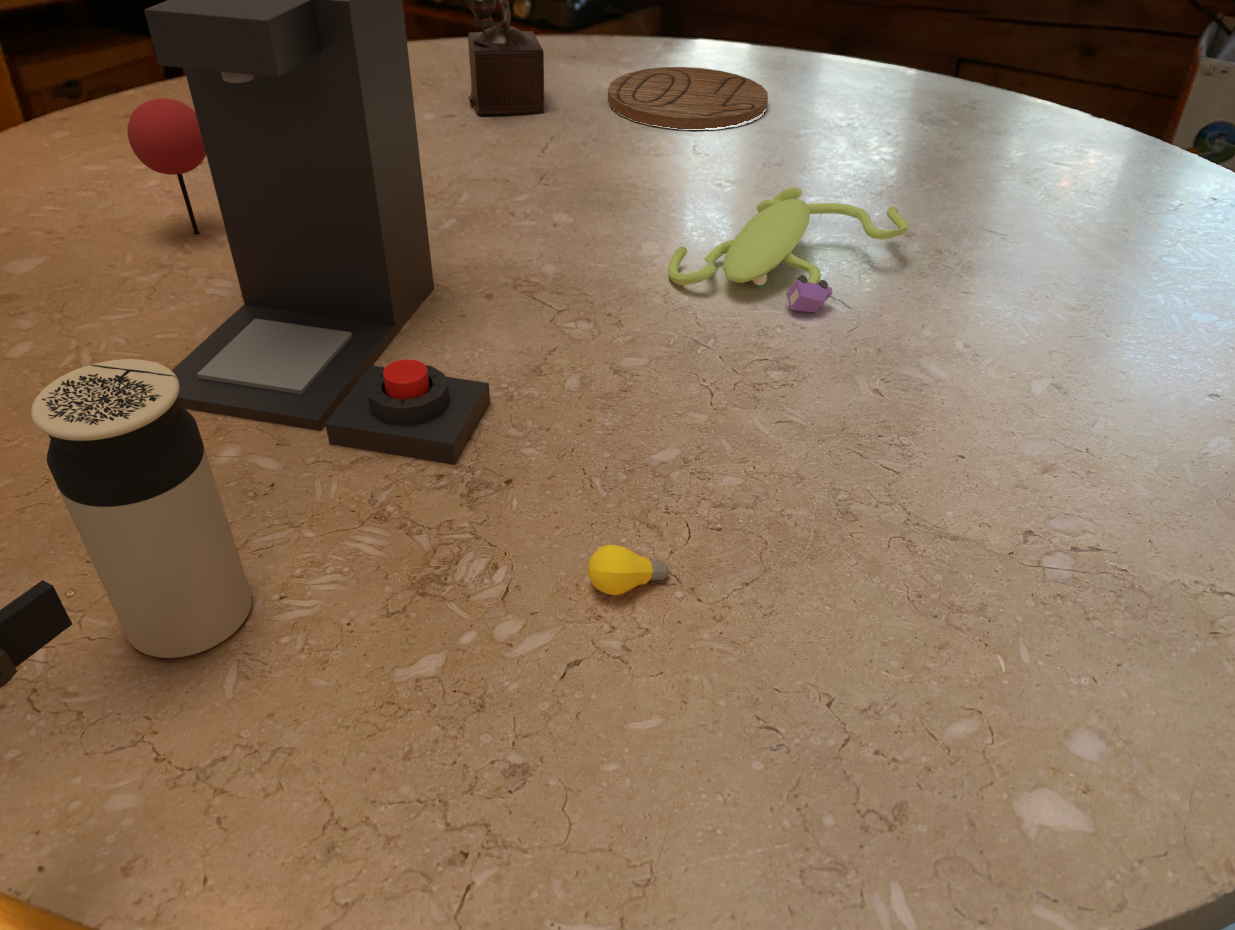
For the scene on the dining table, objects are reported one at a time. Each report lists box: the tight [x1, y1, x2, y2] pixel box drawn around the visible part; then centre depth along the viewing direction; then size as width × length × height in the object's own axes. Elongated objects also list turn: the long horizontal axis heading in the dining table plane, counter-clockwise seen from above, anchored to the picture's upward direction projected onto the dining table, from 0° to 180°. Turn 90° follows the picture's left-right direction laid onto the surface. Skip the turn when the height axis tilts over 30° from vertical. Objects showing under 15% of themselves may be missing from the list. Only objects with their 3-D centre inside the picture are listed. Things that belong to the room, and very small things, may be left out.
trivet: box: [607, 66, 769, 129], centre depth 147 cm, size 25×25×2 cm
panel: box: [325, 364, 491, 466], centre depth 79 cm, size 11×9×4 cm
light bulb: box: [587, 544, 670, 596], centre depth 65 cm, size 3×6×4 cm, turn 106°
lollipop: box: [126, 97, 207, 236], centre depth 103 cm, size 8×8×15 cm
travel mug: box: [30, 358, 253, 659], centre depth 57 cm, size 8×8×18 cm
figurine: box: [667, 187, 910, 313], centre depth 103 cm, size 18×27×6 cm
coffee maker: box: [144, 0, 435, 432], centre depth 81 cm, size 16×26×30 cm, turn 167°
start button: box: [383, 358, 429, 400], centre depth 78 cm, size 4×4×2 cm
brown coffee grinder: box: [466, 0, 545, 117], centre depth 138 cm, size 16×11×18 cm
